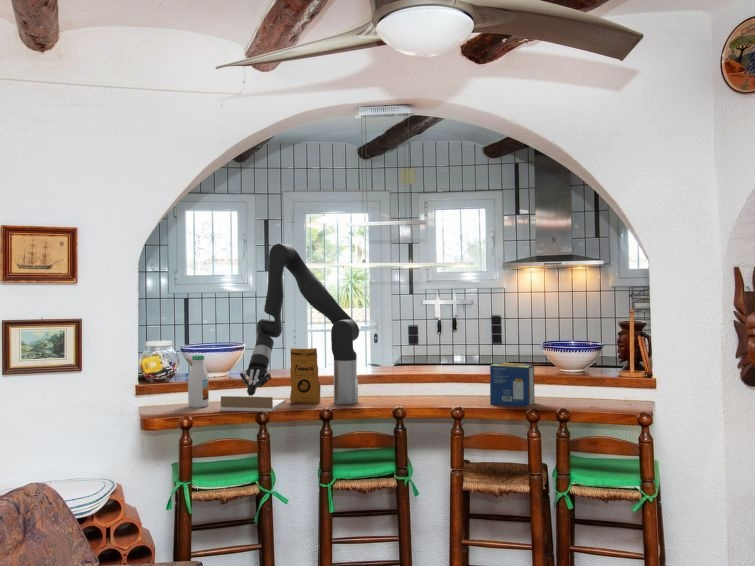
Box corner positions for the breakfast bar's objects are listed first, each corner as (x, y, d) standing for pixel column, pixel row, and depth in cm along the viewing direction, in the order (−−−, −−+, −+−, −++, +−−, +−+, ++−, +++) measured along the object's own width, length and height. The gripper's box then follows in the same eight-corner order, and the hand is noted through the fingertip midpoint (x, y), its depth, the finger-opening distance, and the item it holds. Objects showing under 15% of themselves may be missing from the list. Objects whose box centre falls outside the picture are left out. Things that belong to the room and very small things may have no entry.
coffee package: (318, 405, 257) (318, 349, 257) (287, 405, 258) (287, 349, 258) (322, 400, 267) (322, 346, 267) (292, 400, 268) (292, 346, 268)
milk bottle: (196, 408, 251) (196, 356, 251) (184, 406, 256) (183, 355, 256) (212, 405, 258) (212, 355, 258) (200, 403, 262) (200, 353, 262)
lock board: (285, 402, 263) (285, 389, 263) (271, 411, 245) (271, 397, 245) (237, 401, 266) (237, 388, 266) (220, 410, 248) (220, 396, 248)
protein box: (496, 400, 266) (496, 362, 266) (534, 403, 259) (534, 363, 259) (489, 404, 256) (489, 365, 256) (528, 407, 249) (528, 367, 250)
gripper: (242, 352, 262) (231, 388, 250) (274, 353, 260) (264, 389, 248) (247, 364, 267) (236, 399, 255) (278, 364, 265) (269, 400, 253)
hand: (250, 394), depth 251 cm, fingers closed
